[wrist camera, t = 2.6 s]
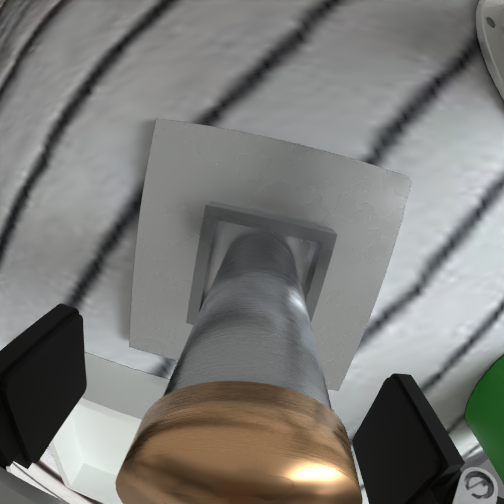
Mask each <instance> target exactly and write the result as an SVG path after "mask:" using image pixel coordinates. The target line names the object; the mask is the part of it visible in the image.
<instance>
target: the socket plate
mask: <svg viewBox="0 0 504 504" xmlns="http://www.w3.org/2000/svg"><path fill="white" fill-rule="evenodd" d="M411 182H412V178H410V177H408V176H405V175H402V174H399V173H396V172H393V171H390V170H387V169H384V168H381V167H378V166H374V165H371V164H368V163H365V162H362V161H358V160H355V159H351V158H348V157H345V156H341V155H337V154H334V153H330V152H326V151H323V150H319V149H315V148H311V147H307V146H303V145H299V144H295V143H291V142H287V141H282V140H278V139H274V138H269V137H264V136H260V135H255V134H250V133H245V132H240V131H234V130H229V129H223V128H218V127H212V126H206V125H200V124H193V123H186V122H179V121H172V120H164V119H156V123H155V128H154V133H153V138H152V143H151V148H150V153H149V159H148V164H147V170H146V176H145V182H144V188H143V195H142V202H141V209H140V216H139V224H138V232H137V240H136V250H135V260H134V271H133V283H132V297H131V315H130V341H129V347H132V348H135V349H139V350H142V351H145V352H149V353H152V354H156V355H159V356H163V357H166V358H170V359H174V360H179V358H180V355H181V353H182V351H183V349H184V346H185V344H186V342H187V339H188V337H189V335H190V333H191V330H192V328H193V326H194V323H195V321H196V319H197V317H198V314H199V312H200V310H201V308H202V305H203V303H204V301H205V299H206V296H207V294H208V292H209V290H210V288H211V285H212V283H213V281H214V279H215V276H216V274H217V272H218V270H219V268H220V265H221V263H222V261H223V259H224V257H225V255H226V253H227V251H228V250H229V249H230V248H231V247H232V246H233V245H234V244H235V243H236V242H238V241H240V240H242V239H244V238H247V237H251V236H266V237H270V238H273V239H275V240H277V241H279V242H280V243H282V244H283V245H284V246H285V247H286V248H287V249H288V250H289V251H290V253H291V255H292V256H293V259H294V262H295V265H296V269H297V272H298V276H299V280H300V284H301V287H302V291H303V295H304V299H305V303H306V306H307V310H308V314H309V318H310V322H311V326H312V330H313V334H314V338H315V342H316V346H317V350H318V354H319V358H320V362H321V366H322V370H323V375H324V379H325V383H326V387H327V389H329V390H337V391H339V388H340V386H341V384H342V382H343V380H344V378H345V375H346V373H347V371H348V369H349V367H350V364H351V362H352V360H353V357H354V355H355V353H356V350H357V348H358V346H359V343H360V341H361V338H362V336H363V333H364V331H365V328H366V326H367V323H368V321H369V318H370V316H371V313H372V310H373V308H374V305H375V302H376V299H377V297H378V294H379V291H380V288H381V285H382V282H383V280H384V277H385V274H386V271H387V268H388V265H389V261H390V258H391V255H392V252H393V249H394V245H395V242H396V239H397V235H398V232H399V228H400V225H401V221H402V218H403V214H404V210H405V206H406V203H407V199H408V195H409V191H410V187H411Z"/></svg>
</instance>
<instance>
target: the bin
mask: <svg viewBox="0 0 504 504" xmlns="http://www.w3.org/2000/svg"><path fill="white" fill-rule="evenodd" d="M84 353H85V367H86V378H87V387H86V391H85V393H84V394H83V396H82V397H81V399H80V400H79V402H78V403H77V404H76V406H75V407H74V409H73V410H72V412H71V413H70V415H69V416H68V417H67V419H66V420H65V422H64V423H63V425H62V426H61V428H60V429H59V431H58V432H57V434H56V435H55V437H54V438H53V440H52V441H51V443H50V444H49V448H50V451H51V453H52V456H53V458H54V461H55V463H56V465H57V468H58V470H59V473H60V475H61V477H62V479H63V481H64V484H65V486H66V487H68V488H70V489H72V490H74V491H76V492H78V493H81V494H83V495H85V496H87V497H90V498H92V499H95V500H97V501H99V502H102V503H104V504H123V503H122V501H121V500H120V498H119V496H118V494H117V491H116V485H115V482H116V478H117V475H118V473H119V470H120V468H121V466H122V463H123V461H124V459H125V457H126V454H127V452H128V450H129V448H130V445H131V443H132V441H133V439H134V436H135V434H136V432H137V430H138V428H139V425H140V423H141V421H142V419H143V417H144V415H145V413H146V412H147V410H148V409H149V408H150V407H151V406H152V405H153V404H154V403H155V402H156V401H158V400H159V399H160V398H162V397H163V395H164V393H165V390H166V388H167V386H168V383H169V381H170V380H169V379H165V378H162V377H158V376H155V375H151V374H148V373H145V372H141V371H138V370H135V369H132V368H129V367H126V366H123V365H120V364H117V363H114V362H111V361H108V360H105V359H102V358H99V357H97V356H94V355H91V354H88V353H86V352H84ZM332 411H333V410H332ZM333 412H334V411H333Z"/></svg>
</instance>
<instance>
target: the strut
mask: <svg viewBox="0 0 504 504" xmlns="http://www.w3.org/2000/svg"><path fill="white" fill-rule="evenodd" d="M115 485H116V491H117V494H118V496H119V498H120V500H121V501H122V503H123V504H362V494H361V490H360V486H359V481H358V477H357V472H356V468H355V464H354V460H353V456H352V451H351V447H350V443H349V439H348V435H347V432H346V429H345V427H344V425H343V424H342V422H341V420H340V419H339V418H338V417H337V416H336V415H335V413H334V412H333V411H332V409H331V405H330V400H329V396H328V392H327V387H326V383H325V379H324V375H323V370H322V366H321V362H320V358H319V354H318V350H317V346H316V342H315V338H314V334H313V330H312V326H311V322H310V318H309V314H308V310H307V306H306V303H305V299H304V295H303V291H302V287H301V284H300V280H299V276H298V272H297V269H296V265H295V262H294V259H293V256H292V255H291V253H290V251H289V250H288V249H287V248H286V247H285V246H284V245H283V244H282V243H280V242H279V241H277V240H275V239H273V238H270V237H266V236H251V237H247V238H244V239H242V240H240V241H238V242H236V243H235V244H234V245H233V246H232V247H231V248H230V249H229V250H228V251H227V253H226V255H225V257H224V259H223V261H222V263H221V265H220V268H219V270H218V272H217V274H216V276H215V279H214V281H213V283H212V285H211V288H210V290H209V292H208V294H207V296H206V299H205V301H204V303H203V305H202V308H201V310H200V312H199V314H198V317H197V319H196V321H195V323H194V326H193V328H192V330H191V333H190V335H189V337H188V339H187V342H186V344H185V346H184V349H183V351H182V353H181V355H180V358H179V360H178V362H177V365H176V367H175V369H174V372H173V374H172V376H171V379H170V381H169V383H168V386H167V388H166V390H165V393H164V395H163V397H162V398H160V399H159V400H158V401H156V402H155V403H154V404H153V405H152V406H151V407H150V408H149V409H148V410H147V412H146V413H145V415H144V417H143V419H142V421H141V423H140V425H139V428H138V430H137V432H136V434H135V436H134V439H133V441H132V443H131V445H130V448H129V450H128V452H127V454H126V457H125V459H124V461H123V463H122V466H121V468H120V470H119V473H118V475H117V478H116V482H115Z"/></svg>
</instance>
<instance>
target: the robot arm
mask: <svg viewBox="0 0 504 504" xmlns="http://www.w3.org/2000/svg"><path fill="white" fill-rule="evenodd" d="M476 29H477V36H478V40H479V44H480V48H481V51H482V55H483V57H484V60H485V62H486V65H487V68H488V70H489V73H490V75H491V77H492V79H493V81H494V83H495V85H496V87H497V89H498V91H499V93H500V94H501V96H502V98H503V100H504V0H480V1H479V2H478V5H477V9H476ZM86 387H87V378H86V367H85V353H84V334H83V317H82V316H81V315H79V311H78V310H77V309H76V308H73V307H70V306H67V305H64V304H59V305H57V306H56V307H55V308H53V309H52V310H51V311H49V312H48V313H47V314H45V315H44V316H43V317H42V318H40V319H39V320H38V321H36V322H35V323H34V324H33V325H31V326H30V327H29V328H28V329H26V330H25V331H24V332H23V333H21V334H20V335H19V336H18V337H16V338H15V339H14V340H13V341H12V342H10V343H9V344H8V345H7V346H5V347H4V348H3V349H2V350H1V351H0V504H69V503H66V502H64V501H62V500H60V499H58V498H56V497H54V496H52V495H50V494H48V493H46V492H44V491H42V490H40V489H38V488H36V487H34V486H32V485H31V484H29V483H27V482H25V481H23V480H22V479H20V478H18V477H16V476H15V475H13V474H11V469H10V465H11V464H12V462H13V461H15V462H16V463H18V464H20V465H21V466H23V467H25V468H27V469H28V468H29V467H30V465H31V464H32V462H33V463H37V462H38V461H39V460H40V458H41V456H42V455H43V453H44V452H45V450H46V449H47V447H48V446H49V444H50V443H51V441H52V440H53V438H54V437H55V435H56V434H57V432H58V431H59V429H60V428H61V426H62V425H63V423H64V422H65V420H66V419H67V417H68V416H69V415H70V413H71V412H72V410H73V409H74V407H75V406H76V404H77V403H78V402H79V400H80V399H81V397H82V396H83V394H84V393H85V391H86ZM353 447H354V451H355V454H356V458H357V461H358V465H359V468H360V472H361V475H362V479H363V483H364V486H365V490H366V494H367V497H368V501H369V504H504V499H503V498H501V497H498V496H497V495H498V485H497V482H496V480H495V479H494V477H493V476H492V475H491V474H490V473H489V472H487V471H485V470H484V469H481V468H478V467H471V468H468V469H466V470H465V471H464V472H462V473H461V471H460V468H461V467H462V466H463V465H464V464H465V462H464V461H463V459H462V457H461V455H460V454H459V452H458V450H457V448H456V447H455V445H454V443H453V442H452V440H451V438H450V437H449V435H448V433H447V432H446V430H445V428H444V427H443V425H442V423H441V422H440V420H439V418H438V417H437V415H436V414H435V412H434V410H433V409H432V407H431V405H430V404H429V402H428V401H427V399H426V398H425V396H424V394H423V393H422V391H421V390H420V388H419V387H418V385H417V384H416V382H415V380H414V379H413V377H412V376H411V375H408V374H392V375H391V376H390V378H387V379H386V380H385V381H384V383H383V385H382V387H381V389H380V391H379V393H378V395H377V397H376V399H375V400H374V402H373V404H372V406H371V408H370V410H369V411H368V413H367V415H366V417H365V419H364V420H363V422H362V424H361V426H360V427H359V429H358V431H357V432H356V434H355V436H354V439H353Z"/></svg>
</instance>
